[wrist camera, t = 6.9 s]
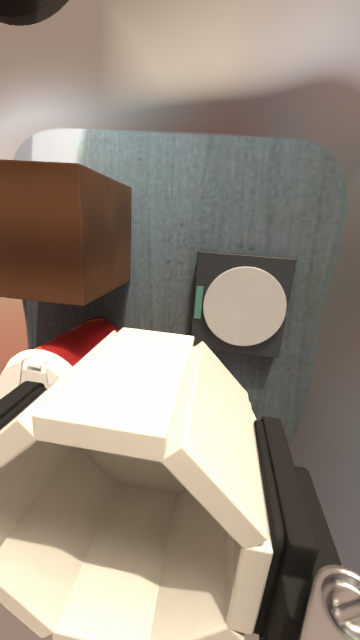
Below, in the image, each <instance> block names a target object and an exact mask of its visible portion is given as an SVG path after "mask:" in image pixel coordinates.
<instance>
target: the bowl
mask: <svg viewBox="0 0 360 640" xmlns="http://www.w3.org/2000/svg"><path fill="white" fill-rule="evenodd" d="M194 341H195V337H194V336H189V335H181V334H173V333H164V332H156V331H148V330H140V329H132V328H122V329H121V330H120V331H119V332H118V333H117V332H116V331H115V330H114V331H112V332H111V333H110V334H108V335H107V336H106V337H105V338H104V339H103V340H101V341H100V342H99V343H98V344H97V345H95V346H94V347H93V348H92V349H91V350H90V351H88V352H87V353H86V354H85V355H84V356H83V357H81V358H80V359H79V360H78V361H77V362H75V363H74V364H73V365H72V366H71V367H70V368H68V369H67V370H66V371H65V372H64V373H63V374H62V375H60V376H59V377H58V378H57V379H56V380H55V381H54V382H52V383H51V384H50V385H49V386H48V387H47V388H46V389H45V390H43V391H42V392H41V393H40V394H39V395H38V396H37V397H35V398H34V399H33V400H32V401H31V402H30V403H29V404H27V405H26V406H25V407H24V408H23V409H22V410H21V411H20V412H18V413H17V414H16V415H15V416H14V417H13V418H12V419H10V420H9V421H8V422H7V423H6V424H5V425H4V426H3V427H1V428H0V603H1V604H2V605H3V606H5V607H6V608H7V609H8V610H9V611H11V612H12V613H13V614H14V615H15V616H16V617H17V618H19V619H20V620H21V621H22V622H23V623H24V624H26V625H27V626H28V627H29V628H30V629H31V630H32V631H34V632H35V633H36V634H37V635H38V636H39V637H41V638H44V637H47V636H49V635H51V634H52V638H53V640H245V633H246V634H250V635H251V634H254V630H255V626H256V622H257V618H258V614H259V610H260V605H261V601H262V597H263V593H264V589H265V585H266V581H267V577H268V573H269V569H270V565H271V561H272V557H273V547H272V540H271V534H270V527H269V520H268V514H267V507H266V501H265V494H264V488H263V481H262V475H261V468H260V461H259V455H258V448H257V442H256V435H255V429H254V421H253V414H252V408H251V403H250V402H249V397H248V393H247V392H246V391H245V390H244V389H243V387H242V386H241V385H240V384H239V383H238V382H237V380H236V379H235V378H234V377H233V376H232V375H231V373H230V372H229V371H228V370H227V369H226V367H225V366H224V365H223V364H222V363H221V362H220V360H219V359H218V358H217V357H216V356H215V355H214V353H213V352H212V351H211V350H210V349H209V347H208V346H207V345H206V344H205V343H204V342H203V341H202V342H200V343H199V344H197V345H196V346H195V347H194Z"/></svg>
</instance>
